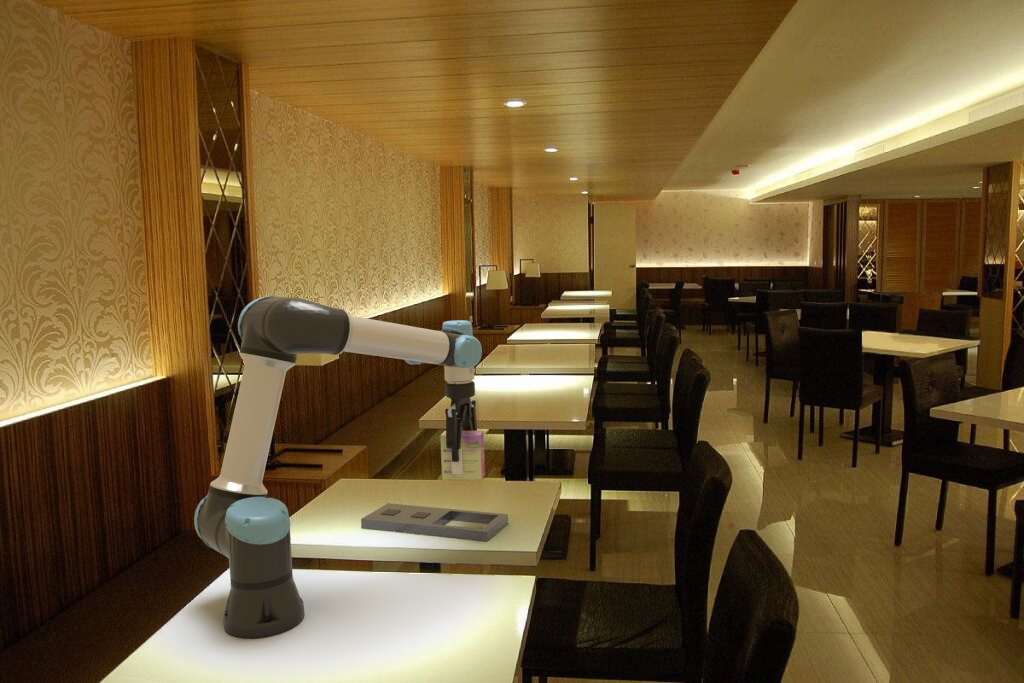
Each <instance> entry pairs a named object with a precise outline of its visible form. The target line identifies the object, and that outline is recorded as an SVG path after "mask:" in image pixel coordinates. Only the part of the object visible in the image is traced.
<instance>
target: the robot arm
mask: <svg viewBox="0 0 1024 683" xmlns="http://www.w3.org/2000/svg"><path fill="white" fill-rule="evenodd" d="M237 320H238V322H237V331H238V335H239V336H240V339H241V345H240V349H239V352H238V353H239V356H240V358H241V359H242V360H243V363H244V366H243V370H242V376H241V380H240V383H239V384H240V385H239V388H238V394H237V398H236V402H235V407H234V412H233V414H232V419H231V425H230V430H229V434H228V438H227V443H226V447H225V451H224V456H223V460H222V465H221V470H220V474H219V476H218V477H217V478H216V479H214V480H213V481H211V482H210V484H209V488H208V491H207V492H208V493H207V495H206V496H205V497H204V498H202V499H201V500H200V502H198V505H197V507H196V509H195V511H194V517H193V518H194V519H193V520H194V521H193V522H194V528H195V531H196V534H197V536H198V537H199V538H200V539H201V541H202V542H204V544H205V545H206V546H207V547H208V548H210V549H211V550H215V551H216V552H217V553H220V554H221V555H223V556H224V557H226V558H227V559H228V566H229V577H230V589H229V590H230V591H229V595H228V598H227V602H226V606H225V610H224V613H223V627H224V631H225V632H226V633H227V634H229V635H231V636H233V637H237V638H238V637H239V638H244V639H252V638H256V639H257V638H263V637H270V636H274V635H277V634H280V633H284V632H286V631H288V630H290V629H292V628H295V627H296V626H297V625H299V624H300V623H301V622H302V621H303V620H304V617H305V607H304V606H305V605H304V601H303V599H302V597H301V596H300V593H299V590H298V587H297V585H296V582H295V580H294V575H293V561H292V560H293V557H292V556H293V555H292V542H291V518H290V516H289V515H290V514H289V510H288V509H289V508H288V507H287V506H286V504H285V503H283V502H282V501H281V500H279V499H276V498H273V497H267V495H268V490H267V488H266V487H265V485H264V483H263V479H264V474H265V471H266V467H267V466H266V465H267V461H268V456H269V454H270V453H269V452H270V449H271V444H272V438H273V433H274V430H275V429H274V428H275V426H276V425H275V424H276V421H277V420H276V419H277V416H278V410H279V407H280V401H281V398H282V394H283V388H284V384H285V379H286V374H287V372H288V370H290V369H291V368H293V367H295V365H296V362H297V358H298V355H302V354H303V355H304V354H315V355H316V354H317V355H319V354H320V355H321V354H322V355H333V356H338V355H341V354H342V353H343V352H346V353H355V354H362V355H368V356H376V357H377V356H378V357H383V358H392V359H398V360H404V361H405V363H407V364H409V365H422V364H432V365H438V366H443V367H444V370H443V371H444V381H445V384H444V386H445V387H444V388H445V398H448V399H450V401H451V402H450V408H445V409H444V412H445V431H446V447H447V449H451V461H452V474H463V462H462V448H460V443H461V433H462V431H478V423H477V413H476V412H477V411H476V406H477V405H476V404H477V401H476V399H475V400H474V399H471V398H473V397H475V395H476V384H475V382H474V381H473V380H474V379H475V372H476V369H475V366H477V365H478V363H479V362H480V361H481V358H482V356H483V353H482V352H483V349H482V344H481V341H479V339H478V338H476V337H475V336H474V334H473V325H472V323H471V322H470V320H463V319H462V320H460V319H459V320H446V321H443V323H442V327H441V328H442V329H441V330H435V329H429V328H422V327H417V326H411V325H406V324H400V323H395V322H389V321H383V320H379V319H378V320H376V319H370V318H366V317H361V316H355V315H349V312H348V311H346V310H345V309H344V308H343V309H342V308H338V307H337V308H336V307H332V306H329V305H325V304H321V303H318V302H314V301H311V300H310V299H308V300H307V299H304V298H301V297H291V296H290V297H288V296H275V295H270V296H268V295H267V296H263V297H260V298H257V299H254V300H252V301H251V302H250V303H248V304H247V305H246V306H245V307H244V308H243V309H242V310H241V312H240V314H239V318H238V319H237Z"/></svg>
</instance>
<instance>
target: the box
mask: <svg viewBox="0 0 1024 683" xmlns="http://www.w3.org/2000/svg"><path fill="white" fill-rule="evenodd" d="M484 435H485V434H484V430H477V431H463V430H462V433H461V443H460V448H462V462H463V474H452V461H451V449H447V447H446V430H444V431H442V432H441V434H440V458H441V460H440V461H441V480H443V481H446V480H447V481H449V480H454V481H455V480H456V481H457V480H458V481H459V480H460V481H461V480H462V481H482V480H483V478H484V476H485V474H486V467H485V461H486V460H485V436H484Z"/></svg>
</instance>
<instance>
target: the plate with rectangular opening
mask: <svg viewBox="0 0 1024 683" xmlns="http://www.w3.org/2000/svg"><path fill="white" fill-rule="evenodd" d="M450 521H459V522H469V523H479V524H480V523H481V524H486V525H485V526H484V527H482V528H475V527H468V526H467V527H466V526H465V527H464V526H455V525H446V524H447V523H448V522H450ZM360 524H361V526H360V527H361V529H365V530H368V529H369V530H375V531H376V530H377V531H385V532H393V531H395V533H403V532H404V533H405V532H406V533H405V534H412V533H414V535H421V534H423V535H422V536H432V537H440V538H441V537H443V538H450V539H451V538H452V539H460V540H461V539H462V540H468V541H469V540H470V541H479V542H488V541H490V539H492V538H493V537H494V536H495V535H497V533H499V532H500V531H501V530H503V529H504V527H506V526H507V525H508V524H509V515H508V513H500V512H499V513H498V512H487V511H478V510H467V509H466V510H465V509H453V508H444V507H433V506H422V505H413V504H412V505H411V504H410V505H409V504H401V503H391V502H387V503H386V504H383V506H381V507H379V508H377V509H376V510H374V511H373V512H370V513H369V514H367V515H365V516H364V517H362V518H361V519H360Z"/></svg>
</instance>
